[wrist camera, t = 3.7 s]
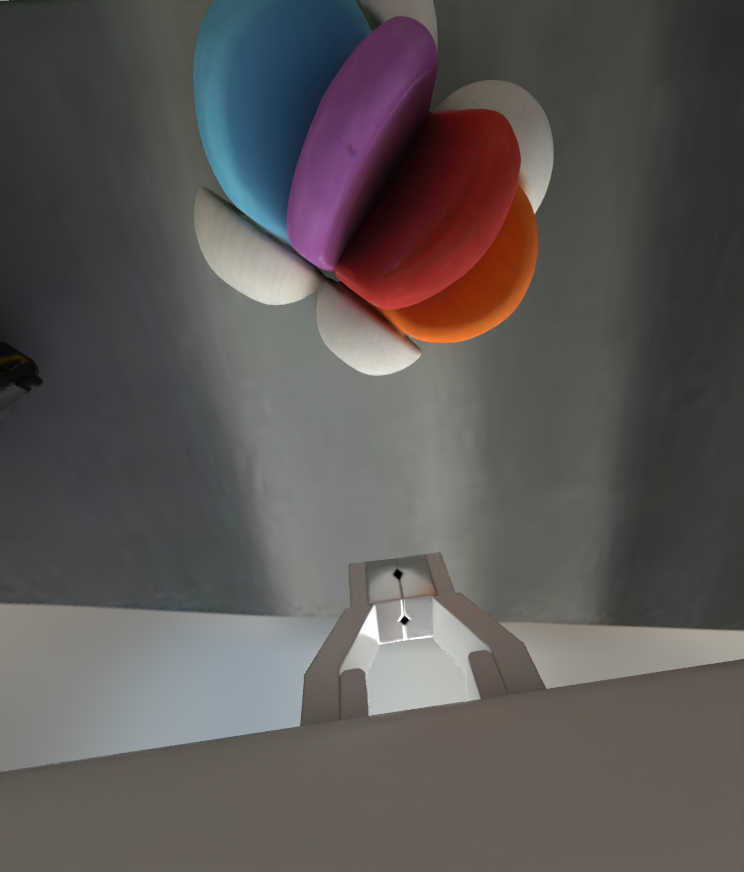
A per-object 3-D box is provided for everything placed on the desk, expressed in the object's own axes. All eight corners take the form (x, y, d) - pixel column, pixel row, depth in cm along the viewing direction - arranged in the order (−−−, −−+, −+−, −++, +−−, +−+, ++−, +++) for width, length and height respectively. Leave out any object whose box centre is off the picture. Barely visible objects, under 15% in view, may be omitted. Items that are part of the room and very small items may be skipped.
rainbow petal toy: (399, 384, 15) (443, 477, 9) (178, 229, 12) (-7, 197, 6) (547, 194, 13) (766, 126, 6) (310, -67, 9) (245, -770, 3)
